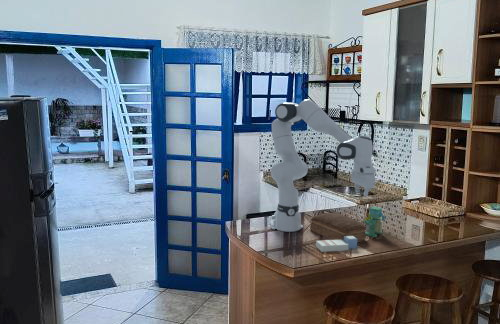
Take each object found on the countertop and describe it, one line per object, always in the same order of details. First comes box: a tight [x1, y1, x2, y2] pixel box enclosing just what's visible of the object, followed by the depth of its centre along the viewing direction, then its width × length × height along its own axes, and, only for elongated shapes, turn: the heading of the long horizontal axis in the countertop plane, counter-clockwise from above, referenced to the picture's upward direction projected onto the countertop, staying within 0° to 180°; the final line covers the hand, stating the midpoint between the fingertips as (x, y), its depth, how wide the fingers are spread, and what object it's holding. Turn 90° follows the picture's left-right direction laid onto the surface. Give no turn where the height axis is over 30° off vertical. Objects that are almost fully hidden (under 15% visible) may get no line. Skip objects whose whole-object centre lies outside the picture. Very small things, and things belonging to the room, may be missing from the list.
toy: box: [364, 206, 386, 238], centre depth 249 cm, size 10×10×15 cm
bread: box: [309, 212, 367, 243], centre depth 246 cm, size 17×29×11 cm, turn 31°
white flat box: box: [315, 239, 349, 253], centre depth 225 cm, size 8×14×3 cm, turn 103°
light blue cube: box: [344, 236, 358, 250], centre depth 227 cm, size 5×5×5 cm
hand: (361, 194), depth 231 cm, fingers open, 8 cm apart
